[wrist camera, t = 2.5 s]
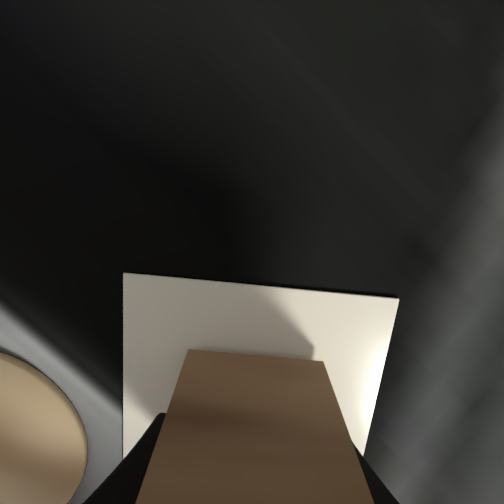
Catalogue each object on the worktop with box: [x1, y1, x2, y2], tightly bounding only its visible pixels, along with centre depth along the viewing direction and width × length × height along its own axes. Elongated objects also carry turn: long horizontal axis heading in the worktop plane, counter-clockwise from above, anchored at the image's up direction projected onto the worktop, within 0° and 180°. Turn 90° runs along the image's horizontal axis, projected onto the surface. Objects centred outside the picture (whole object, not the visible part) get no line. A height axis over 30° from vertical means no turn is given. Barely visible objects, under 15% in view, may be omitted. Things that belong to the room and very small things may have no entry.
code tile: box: [123, 273, 399, 459], centre depth 13 cm, size 10×10×1 cm
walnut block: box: [135, 349, 374, 504], centre depth 10 cm, size 5×5×6 cm
